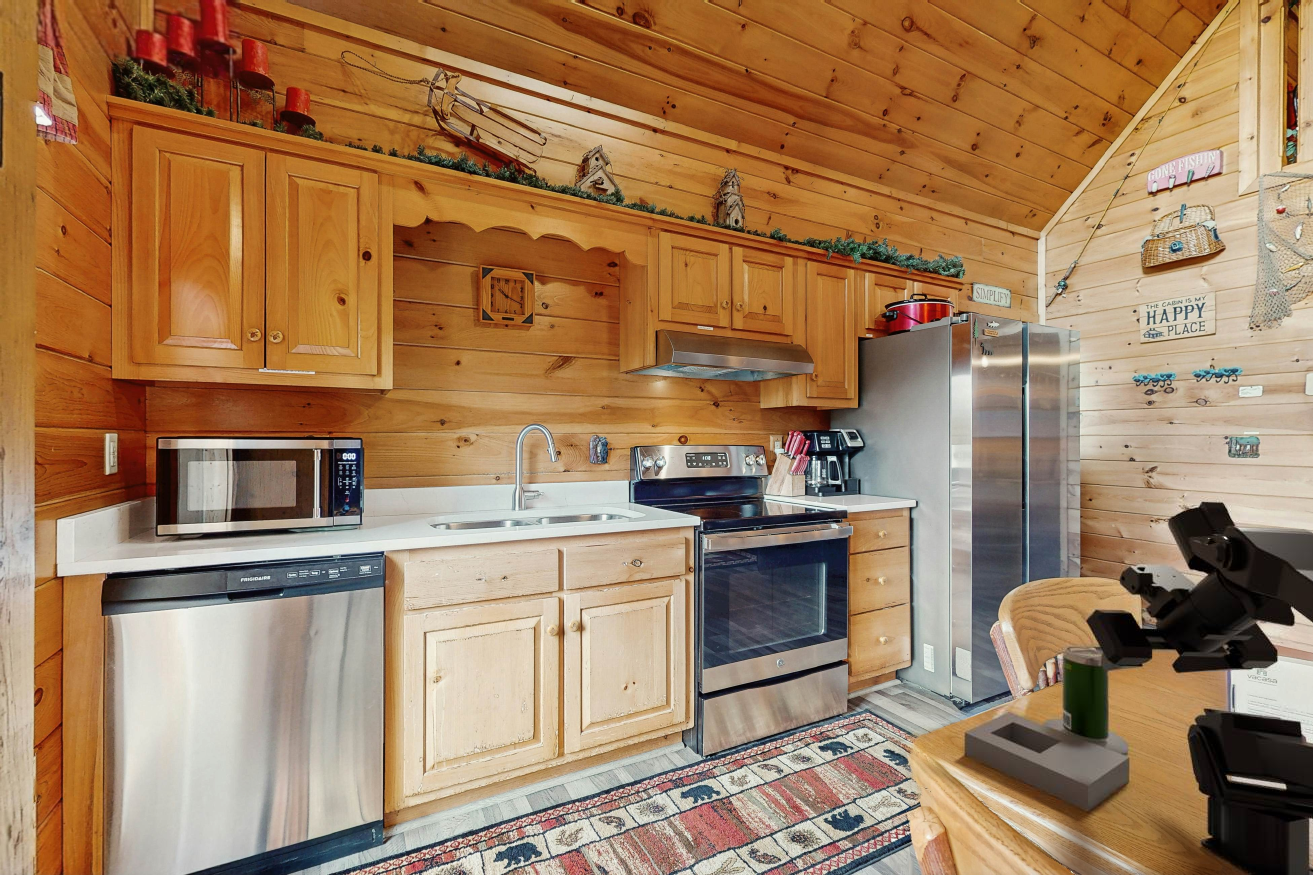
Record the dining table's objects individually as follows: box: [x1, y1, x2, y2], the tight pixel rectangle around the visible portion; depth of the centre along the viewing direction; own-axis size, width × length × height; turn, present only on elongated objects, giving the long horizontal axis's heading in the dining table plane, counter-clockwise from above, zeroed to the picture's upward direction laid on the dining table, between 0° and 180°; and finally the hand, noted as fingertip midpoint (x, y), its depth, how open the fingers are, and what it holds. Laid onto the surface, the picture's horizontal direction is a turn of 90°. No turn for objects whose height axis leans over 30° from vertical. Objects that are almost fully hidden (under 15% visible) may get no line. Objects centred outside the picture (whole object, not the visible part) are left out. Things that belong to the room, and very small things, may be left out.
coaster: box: [1042, 718, 1130, 756], centre depth 84 cm, size 10×10×1 cm
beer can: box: [1062, 646, 1110, 743], centre depth 84 cm, size 5×5×12 cm
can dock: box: [964, 711, 1130, 812], centre depth 76 cm, size 14×12×3 cm
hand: (1139, 668), depth 76 cm, fingers open, 9 cm apart
